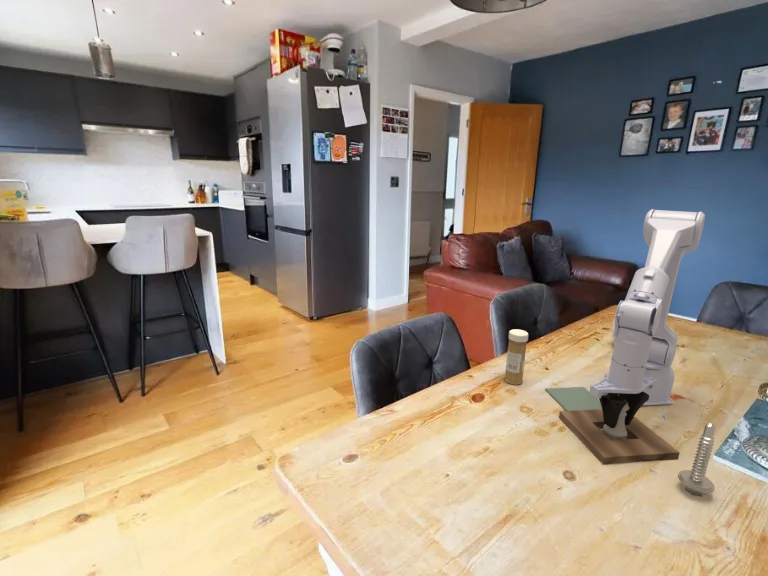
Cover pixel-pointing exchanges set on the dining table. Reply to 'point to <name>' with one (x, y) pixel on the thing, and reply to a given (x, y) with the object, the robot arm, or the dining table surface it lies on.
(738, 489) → the dining table surface
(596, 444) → the socket board
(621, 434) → the rook chess piece
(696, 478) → the screw
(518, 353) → the sprinkles bottle
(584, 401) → the rubber mat
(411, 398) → the dining table surface
